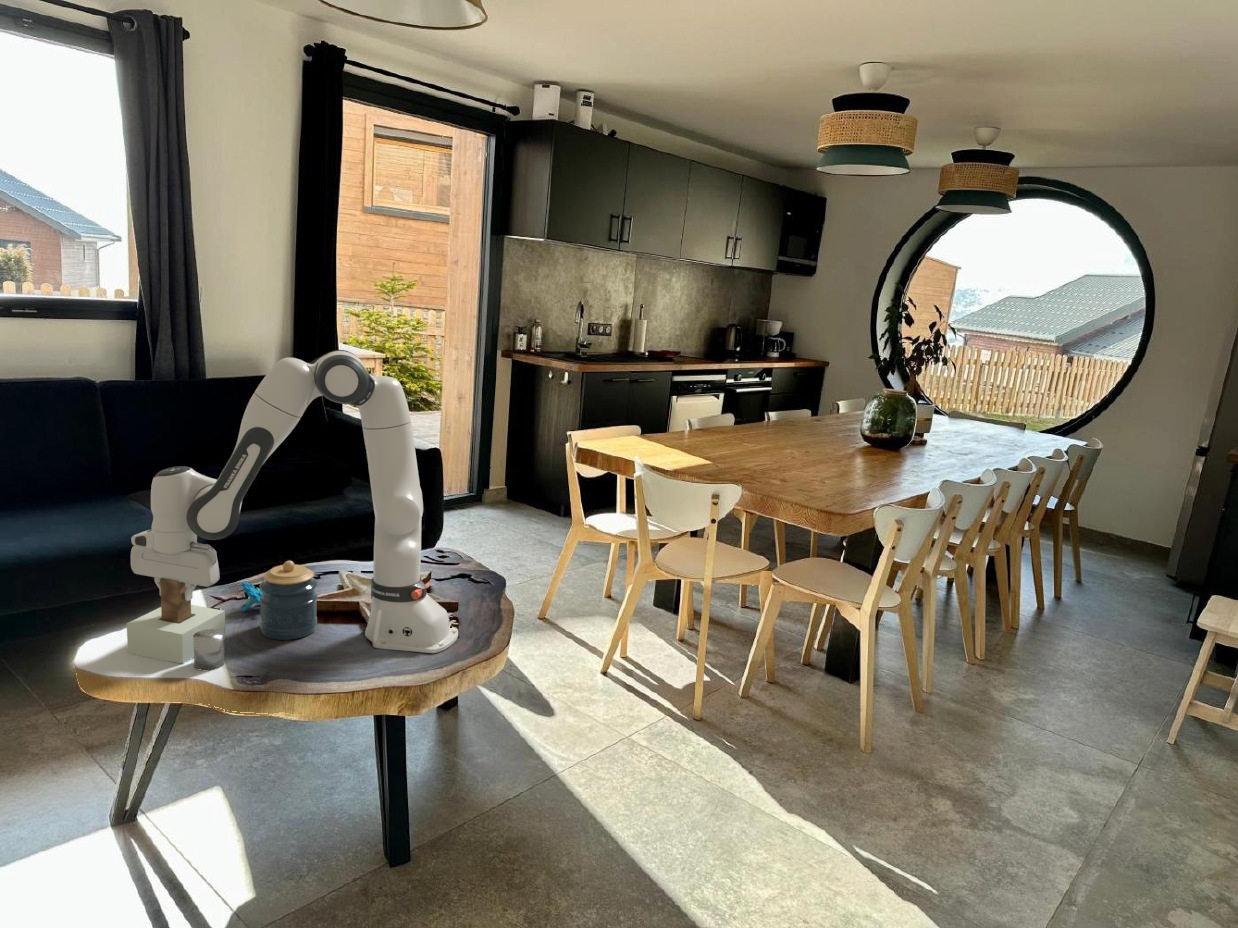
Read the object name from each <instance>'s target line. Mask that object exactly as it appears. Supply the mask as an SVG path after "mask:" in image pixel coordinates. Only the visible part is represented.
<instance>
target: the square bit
mask: <svg viewBox="0 0 1238 928" xmlns="http://www.w3.org/2000/svg"><path fill="white" fill-rule="evenodd" d="M160 580H161V596H160V600H161V601H160V603H161V604H160V607H161V614H162V621H167V622H172V623H178V624H179V623H181V622H182V621H184V620H186V619H188V618H190V617H191V605H192V599H191V600H189V601H186V600H182V596H181V593H183V592H185V591H186V589H187V587H185V583H184V582H179V581H175V580H170V579H164V578H161V579H160Z"/></svg>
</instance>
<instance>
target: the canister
mask: <svg viewBox="0 0 1238 928" xmlns="http://www.w3.org/2000/svg"><path fill="white" fill-rule="evenodd" d="M314 576H315V573H314V571H313V570H312V569H309V568H307V567H306V566H304V565H302V564H301V565H300V564H295V563H294V561H292V560H287V561H285V562H283V564H280V565H276V566H273V567H272V568H271V569H268V571H266V572H265V573H264V574H263V579H264V580H263V581H261V582H260V584H259V589H260V591H261V592H262V595H261V597H260V602H261V604H260V620H259V627H260V628H259V629H260V632H261V634H262V635H263V636H265V638H268V639H273V640H283V641H284V640H285V641H288V640H296V639H297V640H298V639H301V638H304V637H308V636H310V635H311V634H312V633H314V632H315V631H316V629H317V625H318V616H317V606H318V605H317V604H318V603H317V599H318V594H317V592H316V588H317V587H318V581H317V579H316V578H314Z"/></svg>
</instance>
